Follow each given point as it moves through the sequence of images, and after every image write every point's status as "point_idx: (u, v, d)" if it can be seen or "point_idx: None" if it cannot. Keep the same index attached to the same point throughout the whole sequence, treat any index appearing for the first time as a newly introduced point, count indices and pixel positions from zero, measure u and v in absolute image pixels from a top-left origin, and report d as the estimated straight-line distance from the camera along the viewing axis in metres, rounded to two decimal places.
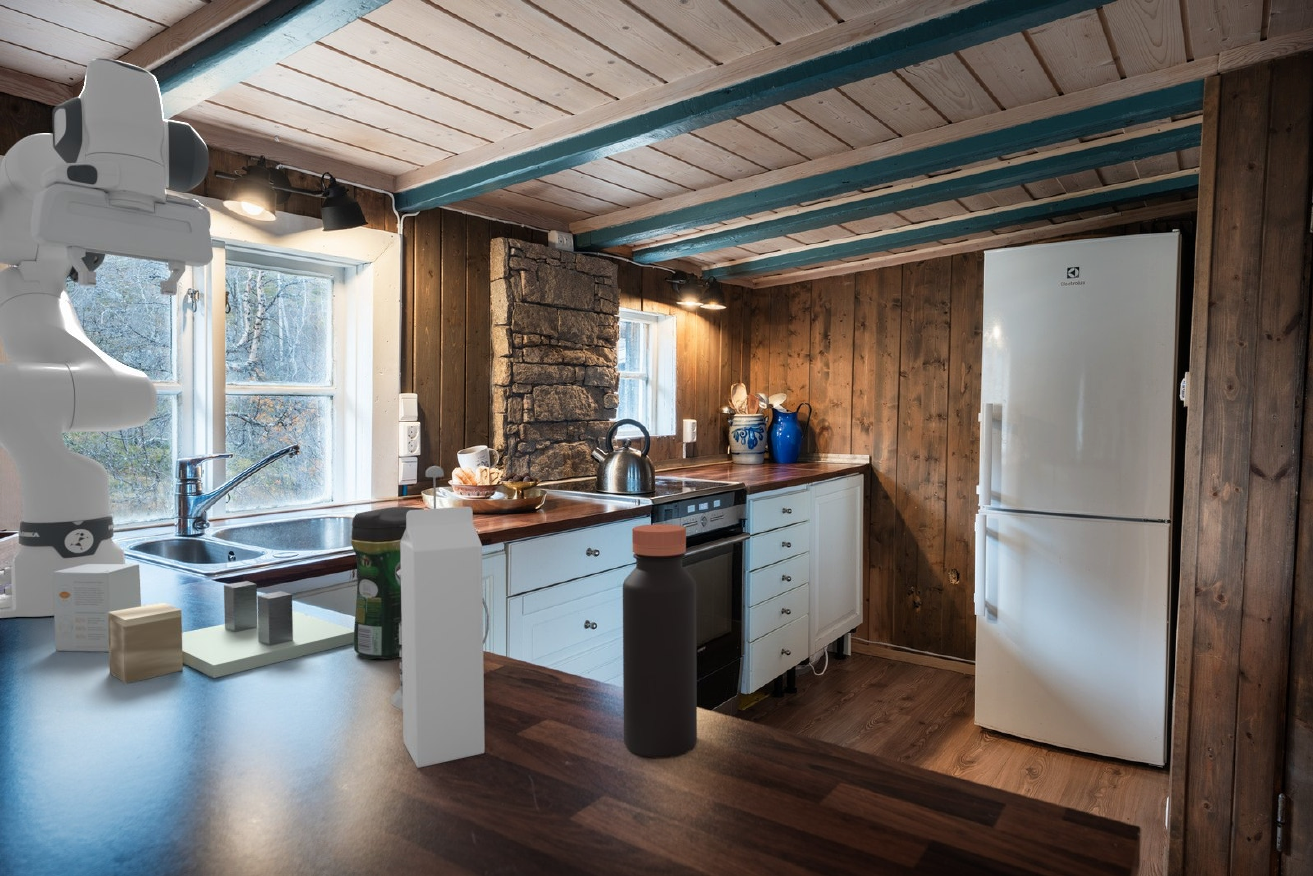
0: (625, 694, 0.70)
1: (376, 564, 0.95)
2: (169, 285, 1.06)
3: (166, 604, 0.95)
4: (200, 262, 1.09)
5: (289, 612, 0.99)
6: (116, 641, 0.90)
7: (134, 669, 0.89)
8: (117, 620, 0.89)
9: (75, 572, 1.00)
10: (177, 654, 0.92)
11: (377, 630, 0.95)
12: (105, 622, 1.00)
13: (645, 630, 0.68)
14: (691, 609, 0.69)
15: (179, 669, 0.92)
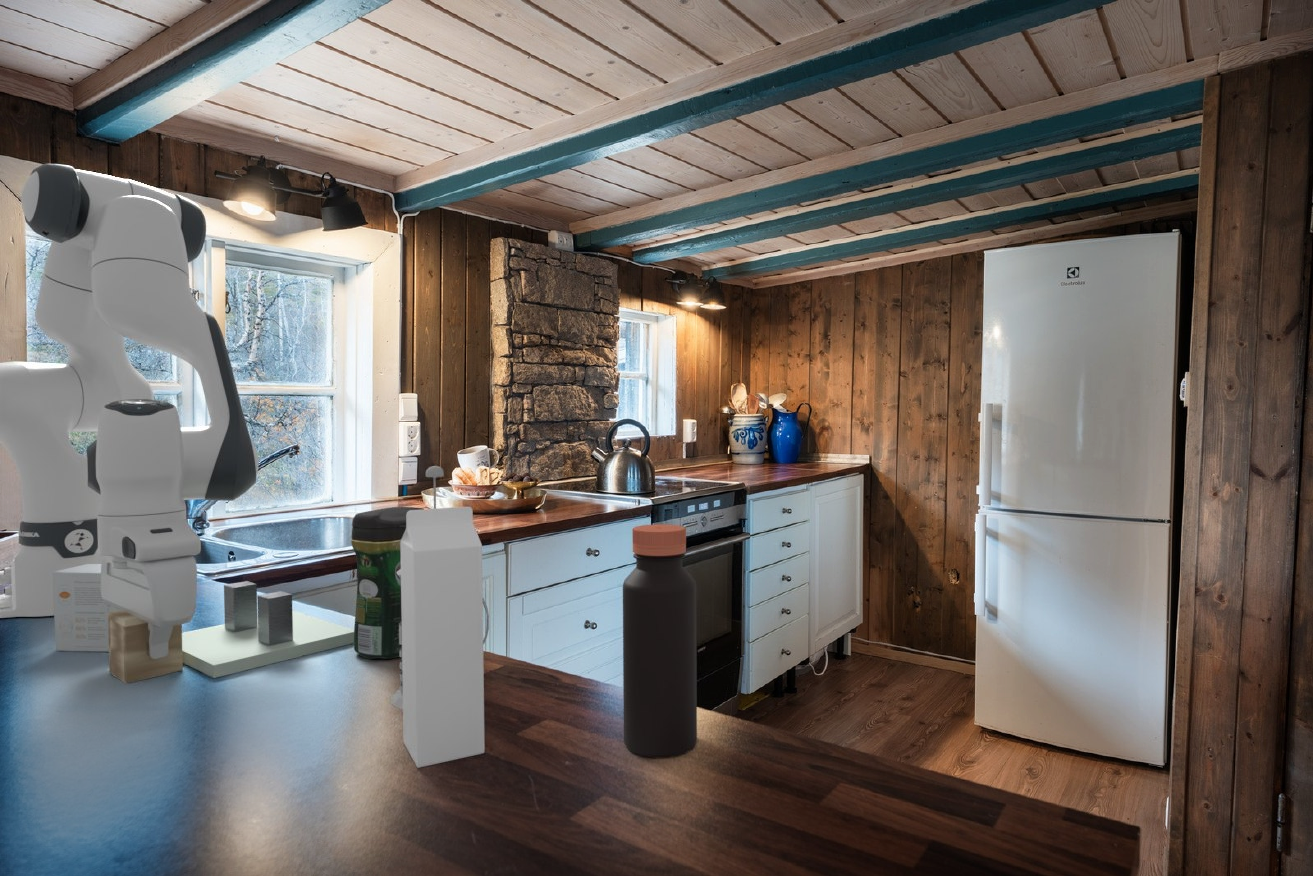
0: (625, 694, 0.70)
1: (376, 564, 0.95)
2: None
3: None
4: None
5: (289, 612, 0.99)
6: (116, 641, 0.90)
7: (134, 669, 0.89)
8: (117, 620, 0.89)
9: (75, 572, 1.00)
10: (177, 654, 0.92)
11: (377, 630, 0.95)
12: (106, 622, 1.00)
13: (645, 630, 0.68)
14: (691, 610, 0.69)
15: (179, 669, 0.92)
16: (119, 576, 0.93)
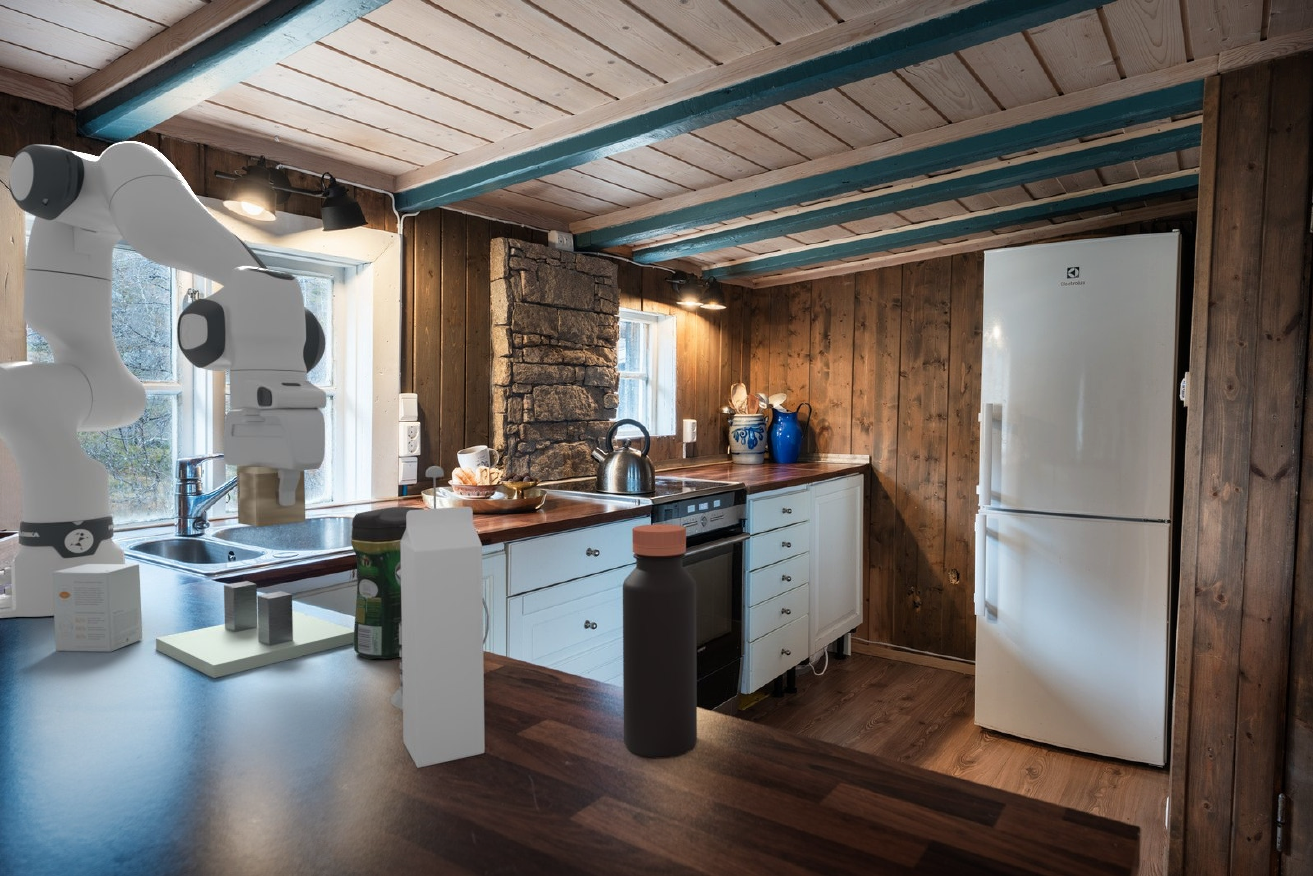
0: (625, 694, 0.70)
1: (376, 564, 0.95)
2: None
3: None
4: None
5: (289, 612, 0.99)
6: (247, 491, 0.96)
7: (265, 515, 0.95)
8: (248, 470, 0.96)
9: (75, 572, 1.00)
10: (301, 506, 0.98)
11: (377, 630, 0.95)
12: (106, 622, 1.00)
13: (645, 630, 0.68)
14: (691, 610, 0.69)
15: (302, 520, 0.99)
16: (245, 434, 0.99)
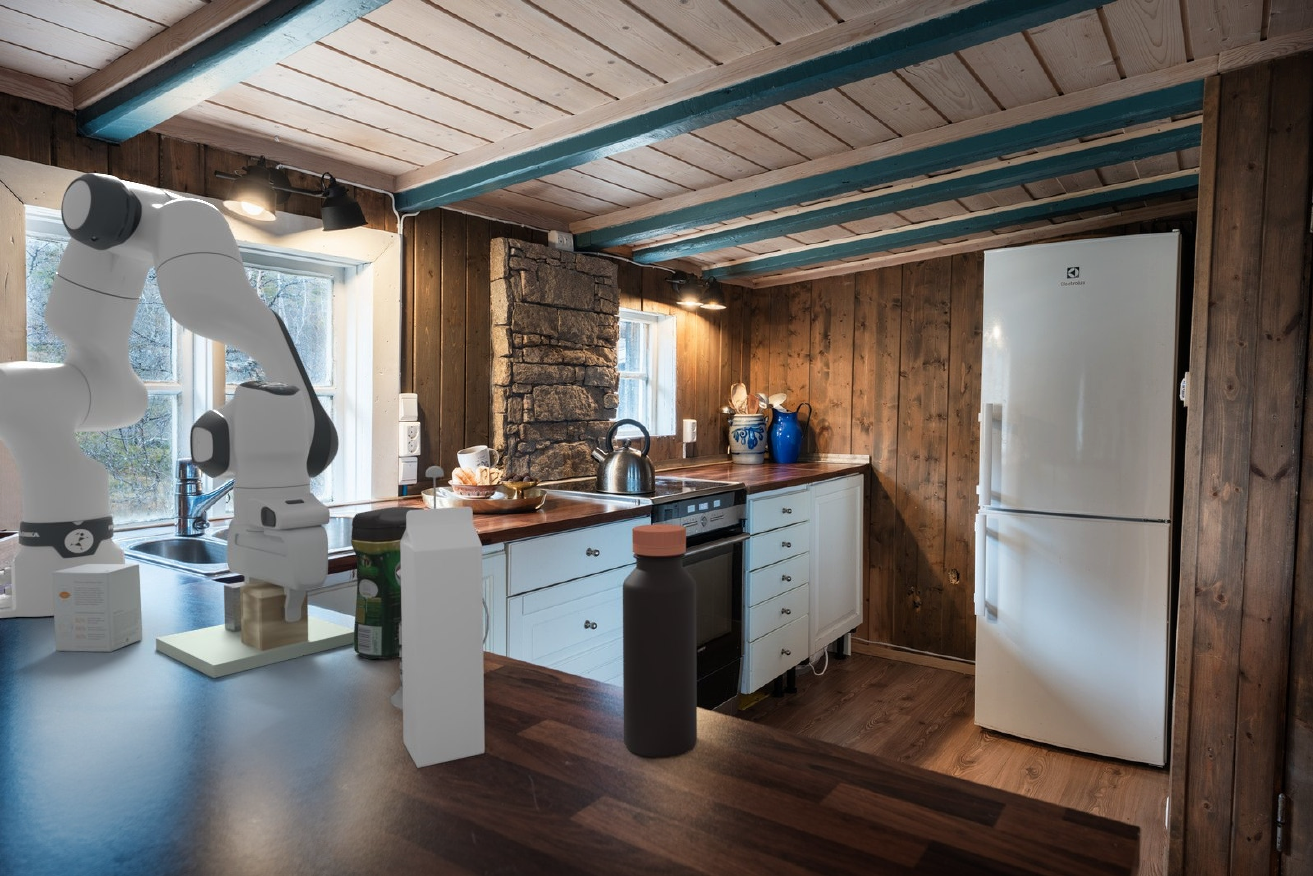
0: (625, 694, 0.70)
1: (376, 564, 0.95)
2: None
3: None
4: None
5: None
6: (250, 612, 0.97)
7: (268, 638, 0.96)
8: (251, 592, 0.96)
9: (75, 572, 1.00)
10: (304, 625, 0.99)
11: (377, 630, 0.95)
12: (105, 622, 1.00)
13: (645, 630, 0.68)
14: (691, 609, 0.69)
15: (305, 639, 0.99)
16: (249, 545, 1.00)
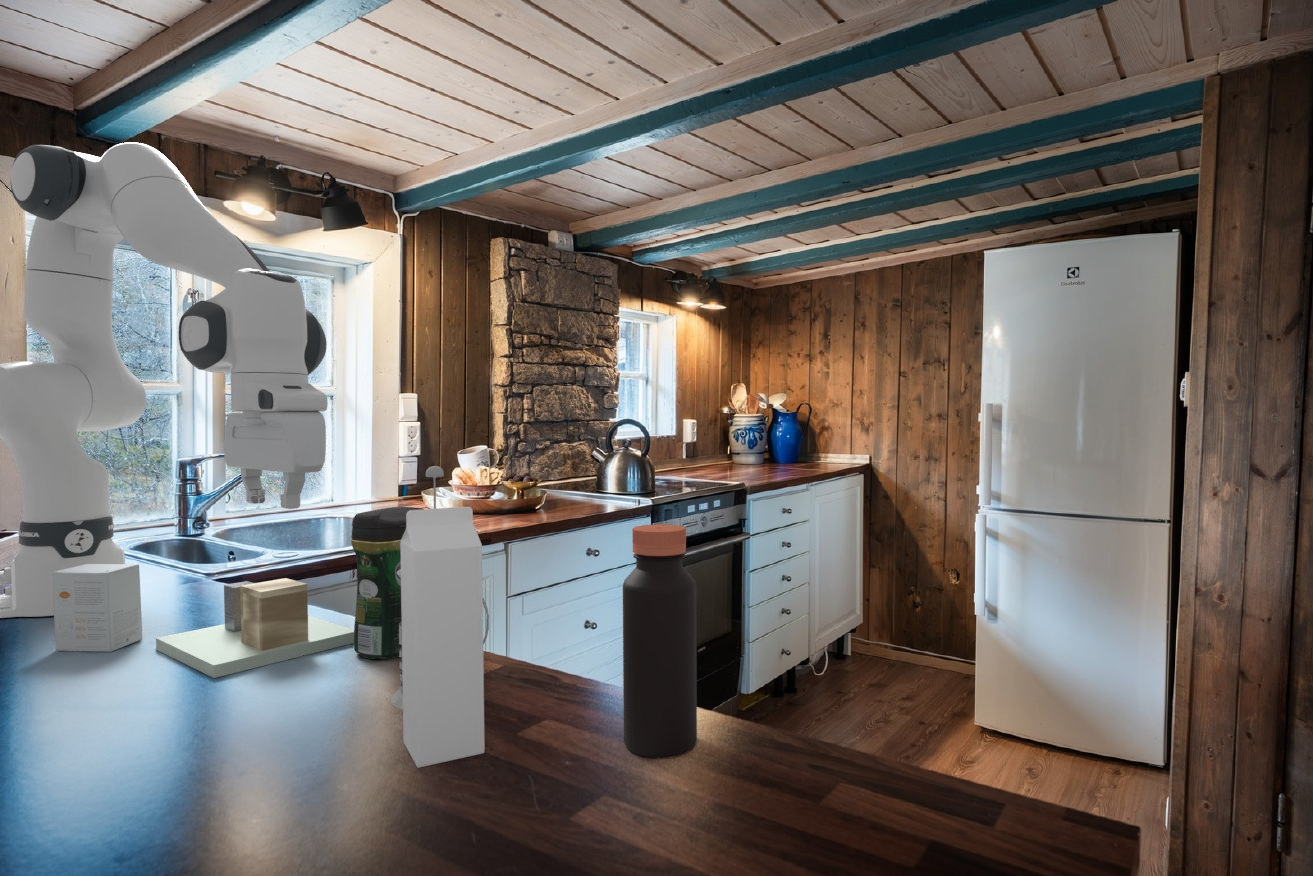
0: (625, 694, 0.70)
1: (376, 564, 0.95)
2: None
3: (290, 579, 1.02)
4: None
5: None
6: (250, 612, 0.97)
7: (268, 638, 0.96)
8: (251, 592, 0.96)
9: (75, 572, 1.00)
10: (304, 625, 0.99)
11: (377, 630, 0.95)
12: (106, 622, 1.00)
13: (645, 630, 0.68)
14: (691, 610, 0.69)
15: (305, 639, 0.99)
16: (246, 436, 0.99)
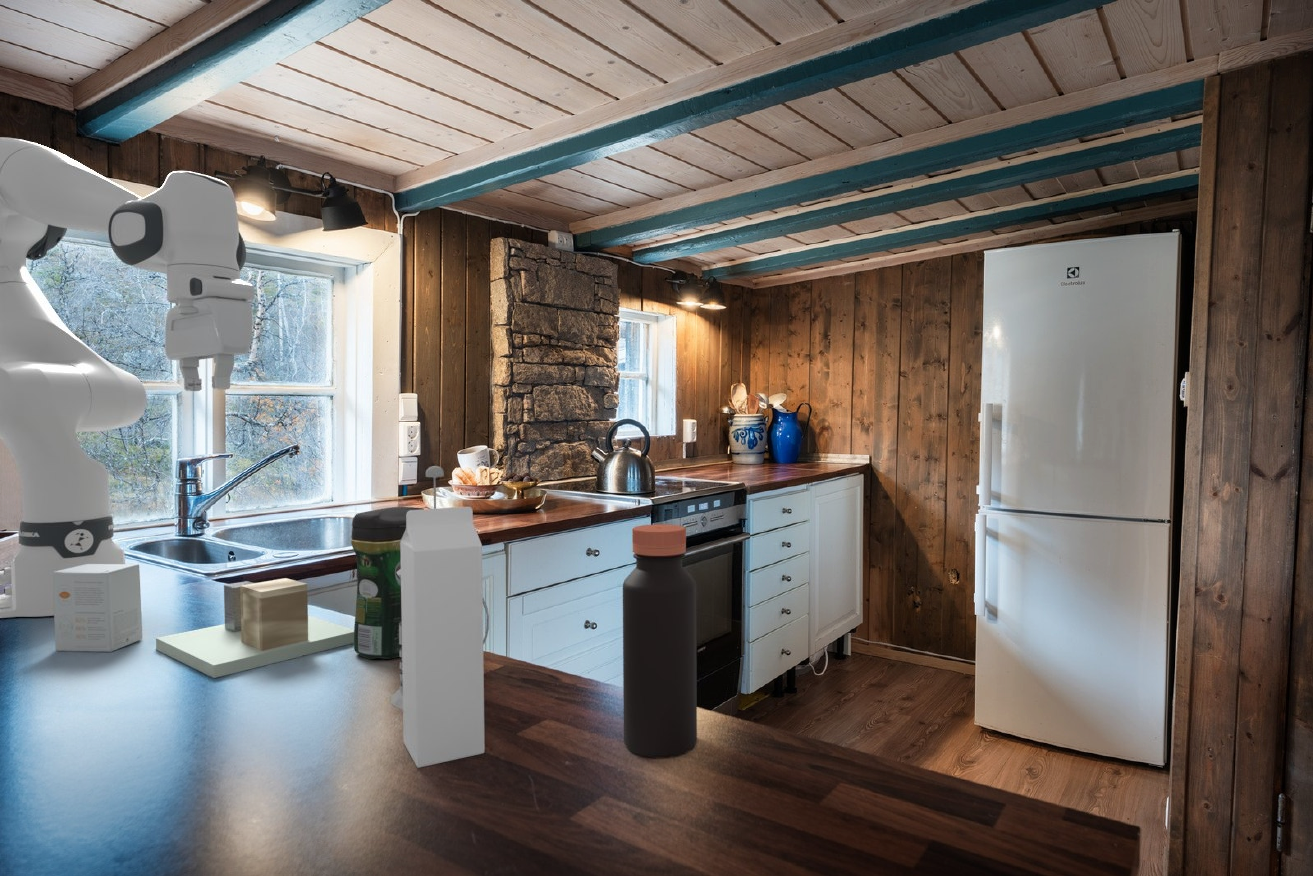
0: (625, 694, 0.70)
1: (376, 564, 0.95)
2: None
3: (290, 579, 1.02)
4: None
5: None
6: (250, 612, 0.97)
7: (268, 638, 0.96)
8: (251, 592, 0.96)
9: (75, 572, 1.00)
10: (304, 625, 0.99)
11: (377, 630, 0.95)
12: (106, 622, 1.00)
13: (645, 630, 0.68)
14: (691, 609, 0.69)
15: (305, 639, 0.99)
16: (183, 328, 1.09)
